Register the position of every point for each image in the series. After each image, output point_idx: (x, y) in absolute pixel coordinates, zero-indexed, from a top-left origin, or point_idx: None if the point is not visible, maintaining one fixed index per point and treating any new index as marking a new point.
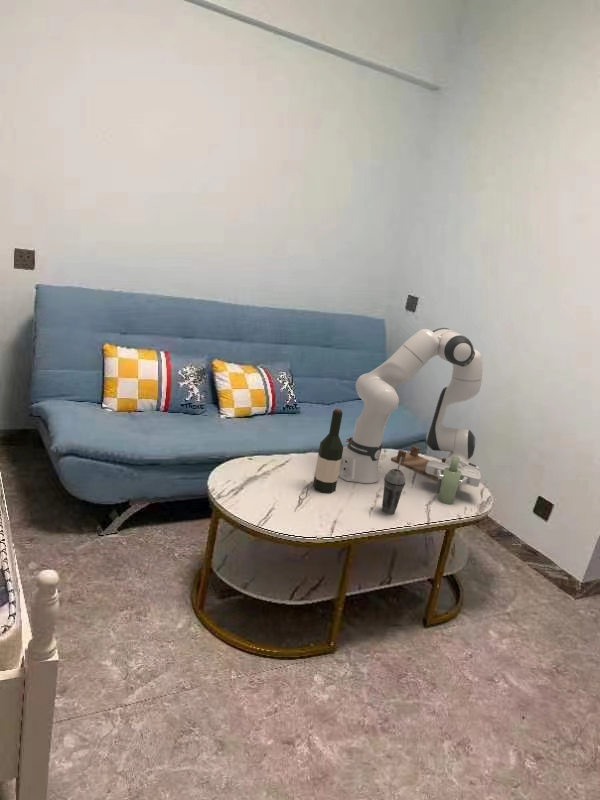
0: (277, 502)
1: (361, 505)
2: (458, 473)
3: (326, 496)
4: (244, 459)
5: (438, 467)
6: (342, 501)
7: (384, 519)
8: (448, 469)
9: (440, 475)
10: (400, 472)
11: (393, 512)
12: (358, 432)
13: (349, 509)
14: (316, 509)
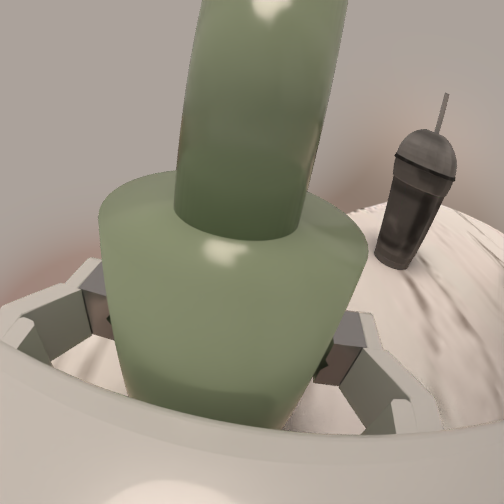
0: (494, 244)
1: (444, 265)
2: (163, 179)
3: (495, 275)
4: None
5: (469, 431)
6: (471, 268)
7: (375, 233)
8: (308, 225)
9: (353, 311)
10: (421, 129)
11: (376, 245)
12: None
13: (442, 248)
14: (463, 239)
